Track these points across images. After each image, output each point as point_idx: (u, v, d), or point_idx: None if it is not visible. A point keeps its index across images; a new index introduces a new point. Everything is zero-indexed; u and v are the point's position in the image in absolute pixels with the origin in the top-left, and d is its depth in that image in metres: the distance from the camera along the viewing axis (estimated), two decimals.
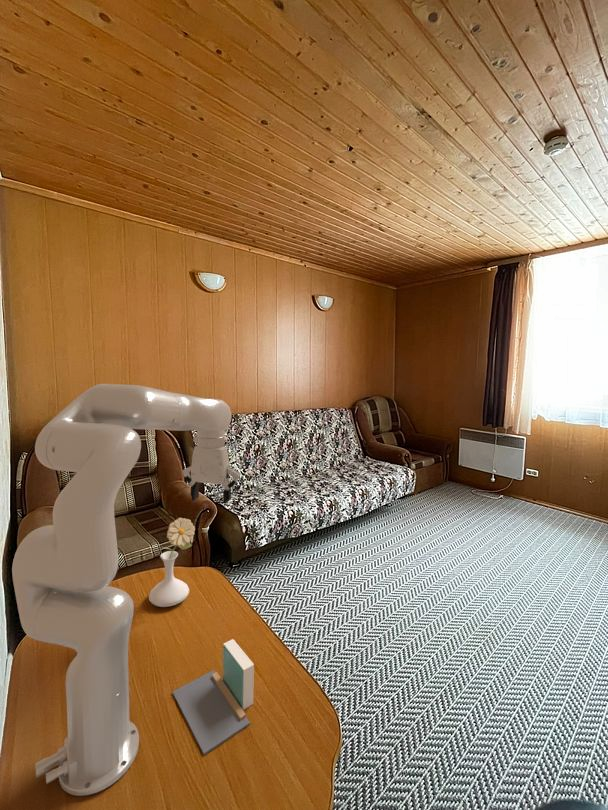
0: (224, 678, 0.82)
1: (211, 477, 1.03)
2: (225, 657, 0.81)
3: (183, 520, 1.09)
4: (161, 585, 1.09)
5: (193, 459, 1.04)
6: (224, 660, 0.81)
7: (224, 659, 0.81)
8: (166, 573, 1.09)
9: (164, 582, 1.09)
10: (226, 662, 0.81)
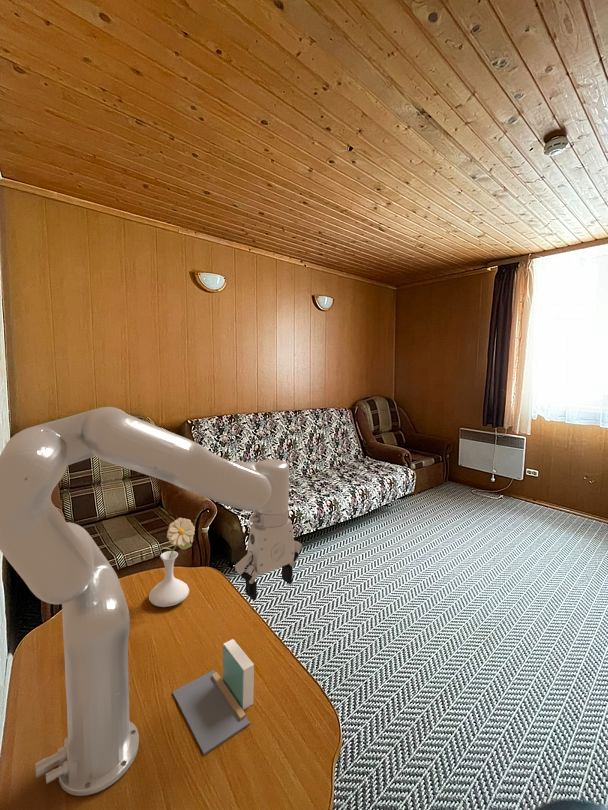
0: (224, 678, 0.82)
1: (283, 559, 0.81)
2: (225, 657, 0.81)
3: (183, 520, 1.09)
4: (161, 585, 1.09)
5: (261, 546, 0.78)
6: (224, 660, 0.81)
7: (224, 659, 0.81)
8: (166, 573, 1.09)
9: (164, 582, 1.09)
10: (226, 662, 0.81)
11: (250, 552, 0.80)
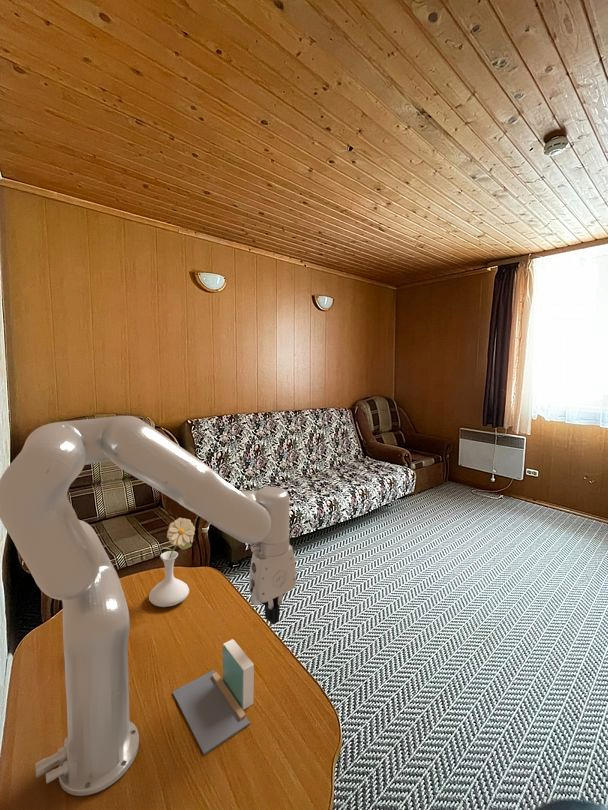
0: (224, 678, 0.82)
1: (285, 586, 0.82)
2: (225, 657, 0.81)
3: (183, 520, 1.09)
4: (161, 585, 1.09)
5: (263, 575, 0.78)
6: (224, 660, 0.81)
7: (224, 659, 0.81)
8: (166, 573, 1.09)
9: (164, 582, 1.09)
10: (226, 662, 0.81)
11: (254, 584, 0.81)
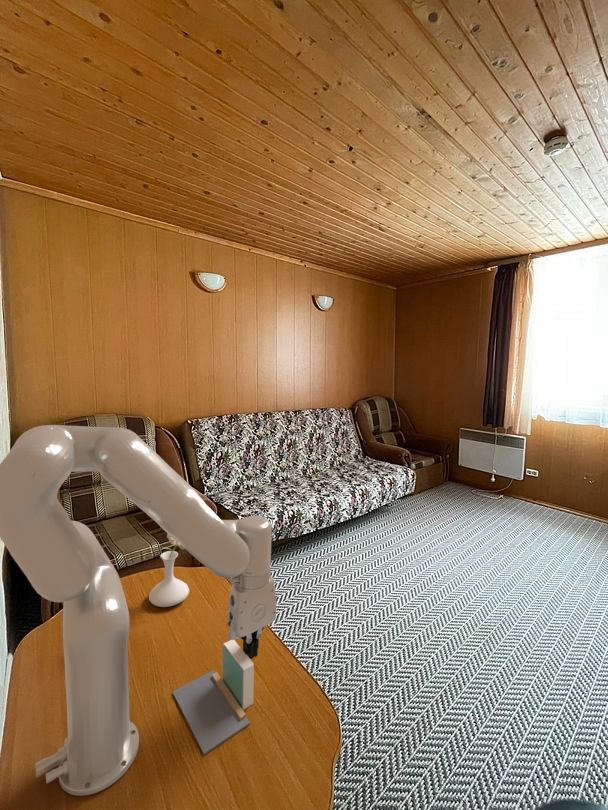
0: (224, 678, 0.82)
1: (264, 620, 0.79)
2: (225, 657, 0.81)
3: None
4: (161, 585, 1.09)
5: (241, 609, 0.76)
6: (224, 660, 0.81)
7: (224, 659, 0.81)
8: (166, 573, 1.09)
9: (164, 582, 1.09)
10: (226, 662, 0.81)
11: (232, 617, 0.78)
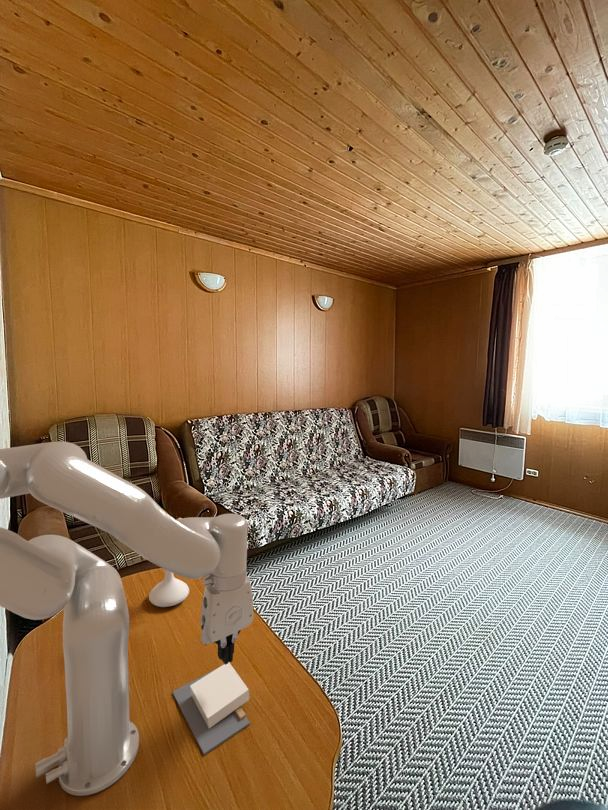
0: None
1: (239, 623, 0.75)
2: None
3: None
4: (161, 585, 1.09)
5: (214, 611, 0.72)
6: None
7: None
8: (166, 573, 1.09)
9: (164, 582, 1.09)
10: None
11: None
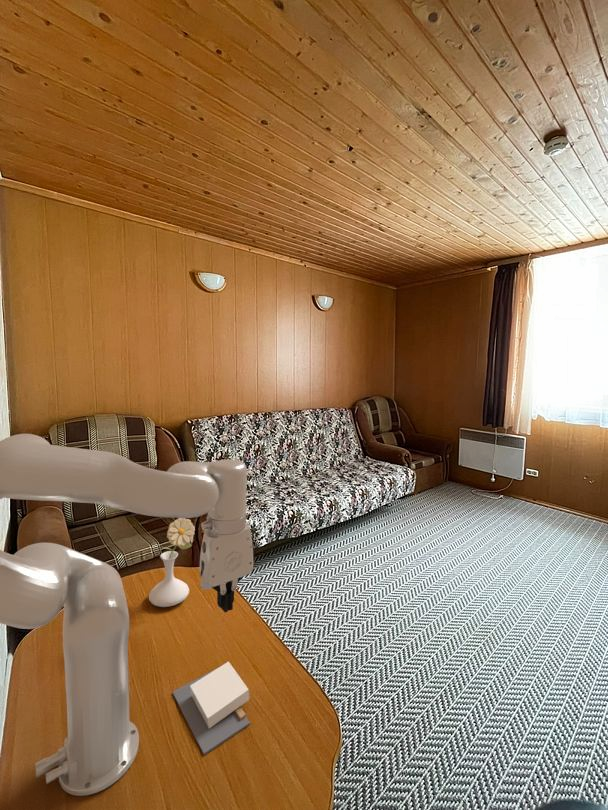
0: None
1: (239, 570, 0.74)
2: None
3: (183, 520, 1.09)
4: (161, 585, 1.09)
5: (213, 555, 0.70)
6: None
7: None
8: (166, 573, 1.09)
9: (164, 582, 1.09)
10: None
11: None
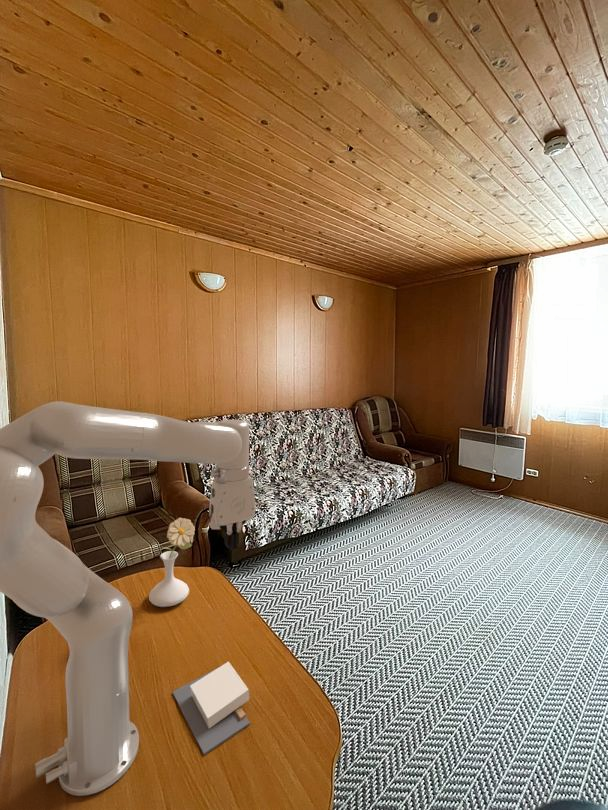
0: None
1: (243, 513, 0.86)
2: None
3: (183, 520, 1.09)
4: (161, 585, 1.09)
5: (221, 498, 0.82)
6: None
7: None
8: (166, 573, 1.09)
9: (164, 582, 1.09)
10: None
11: (213, 509, 0.85)
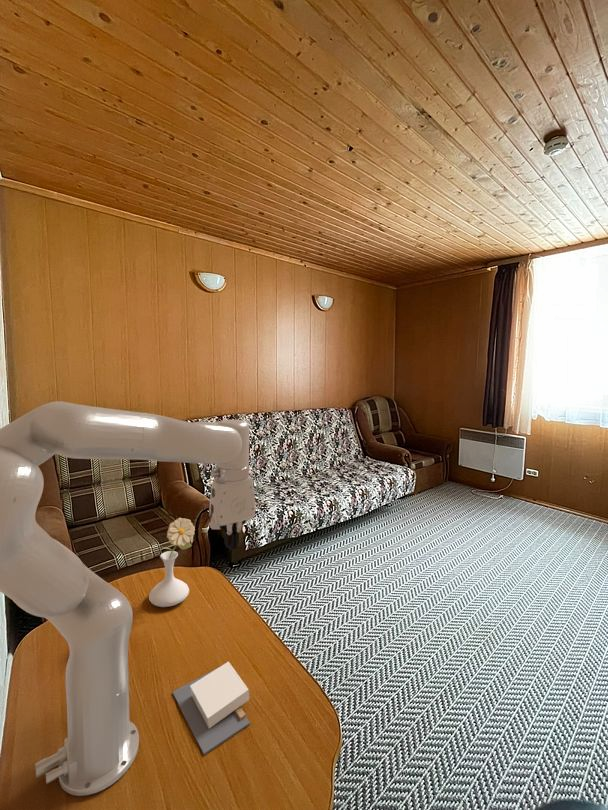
0: None
1: (243, 513, 0.86)
2: None
3: (183, 520, 1.09)
4: (161, 585, 1.09)
5: (221, 498, 0.82)
6: None
7: None
8: (166, 573, 1.09)
9: (164, 582, 1.09)
10: None
11: (213, 509, 0.85)
